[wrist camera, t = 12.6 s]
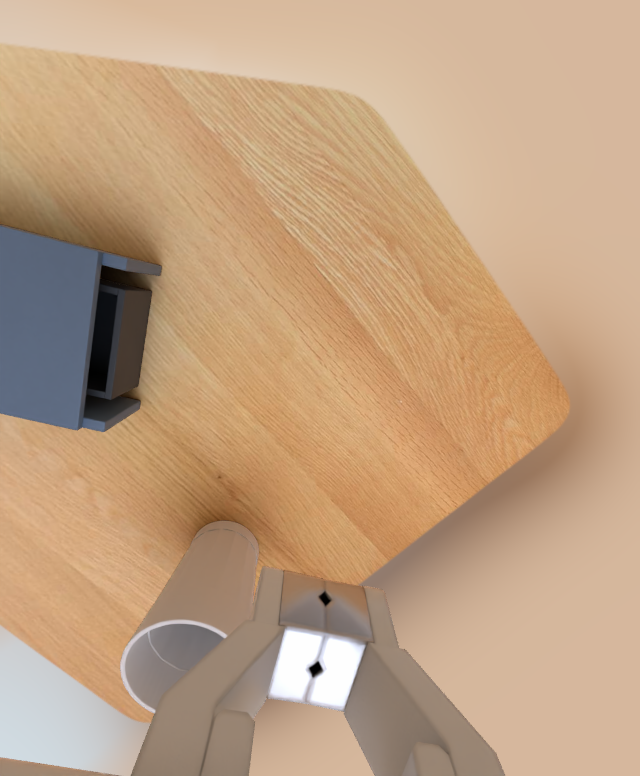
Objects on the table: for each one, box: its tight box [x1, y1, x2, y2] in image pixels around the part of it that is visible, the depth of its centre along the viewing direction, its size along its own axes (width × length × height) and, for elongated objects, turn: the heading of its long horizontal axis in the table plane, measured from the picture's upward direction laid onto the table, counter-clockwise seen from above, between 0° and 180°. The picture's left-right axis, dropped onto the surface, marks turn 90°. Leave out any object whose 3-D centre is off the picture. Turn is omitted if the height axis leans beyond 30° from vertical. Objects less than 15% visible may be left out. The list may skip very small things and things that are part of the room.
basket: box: [86, 278, 152, 400], centre depth 29 cm, size 10×8×4 cm
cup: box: [120, 521, 259, 714], centre depth 30 cm, size 8×8×12 cm
